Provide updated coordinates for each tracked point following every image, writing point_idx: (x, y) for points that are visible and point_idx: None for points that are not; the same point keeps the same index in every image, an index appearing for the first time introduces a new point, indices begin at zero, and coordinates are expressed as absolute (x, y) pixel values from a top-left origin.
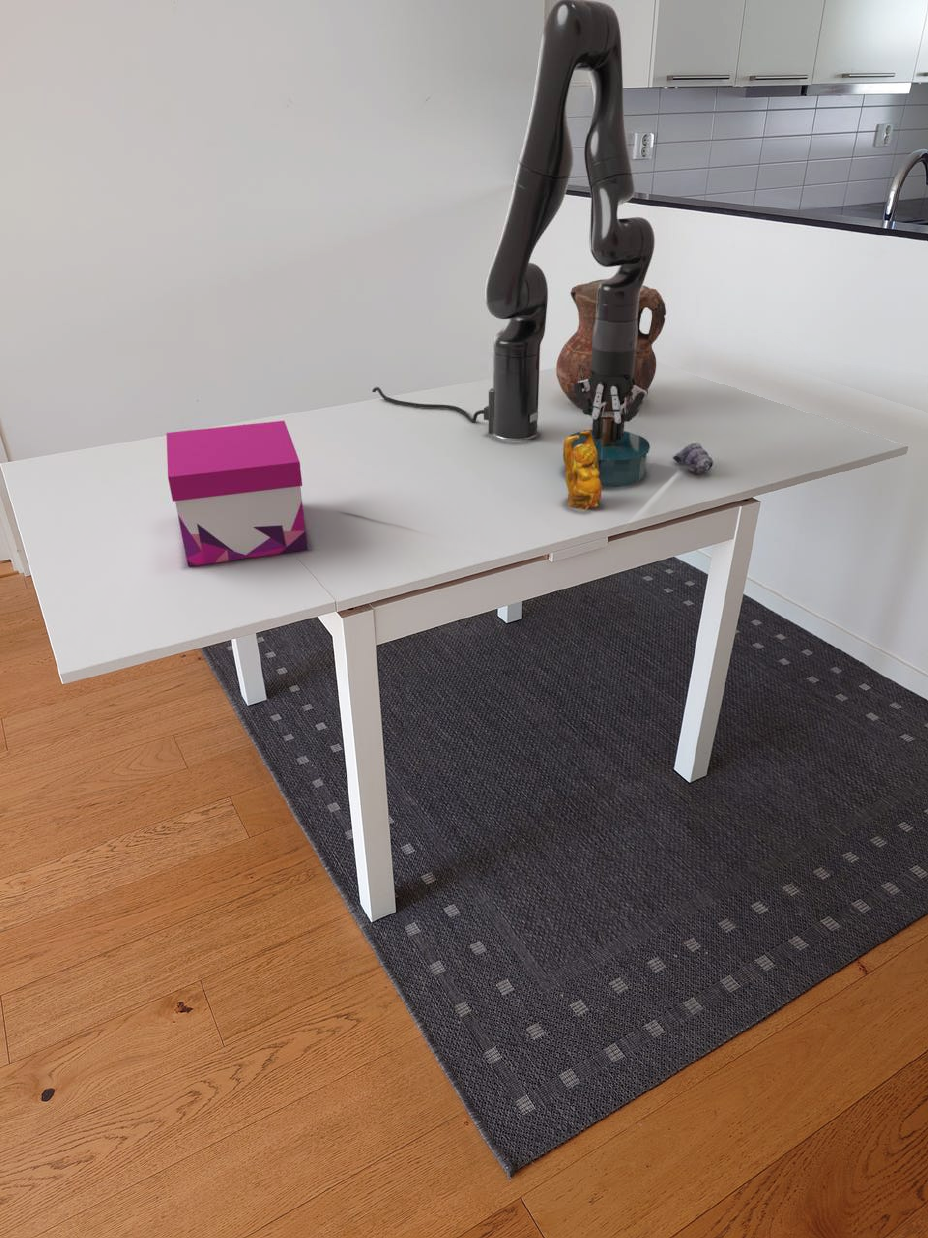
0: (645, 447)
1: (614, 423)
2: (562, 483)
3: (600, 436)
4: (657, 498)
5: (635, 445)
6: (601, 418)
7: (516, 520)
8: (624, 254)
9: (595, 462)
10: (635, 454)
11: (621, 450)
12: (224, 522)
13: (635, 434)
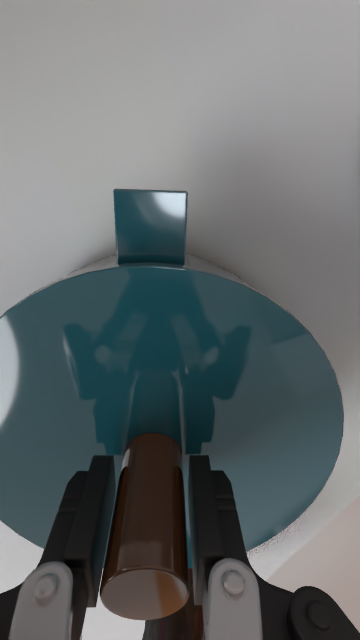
0: (324, 421)
1: (199, 602)
2: None
3: (113, 473)
4: (342, 449)
5: (276, 420)
6: (90, 579)
7: (98, 622)
8: None
9: None
10: (298, 496)
11: (235, 487)
12: None
13: (240, 291)
